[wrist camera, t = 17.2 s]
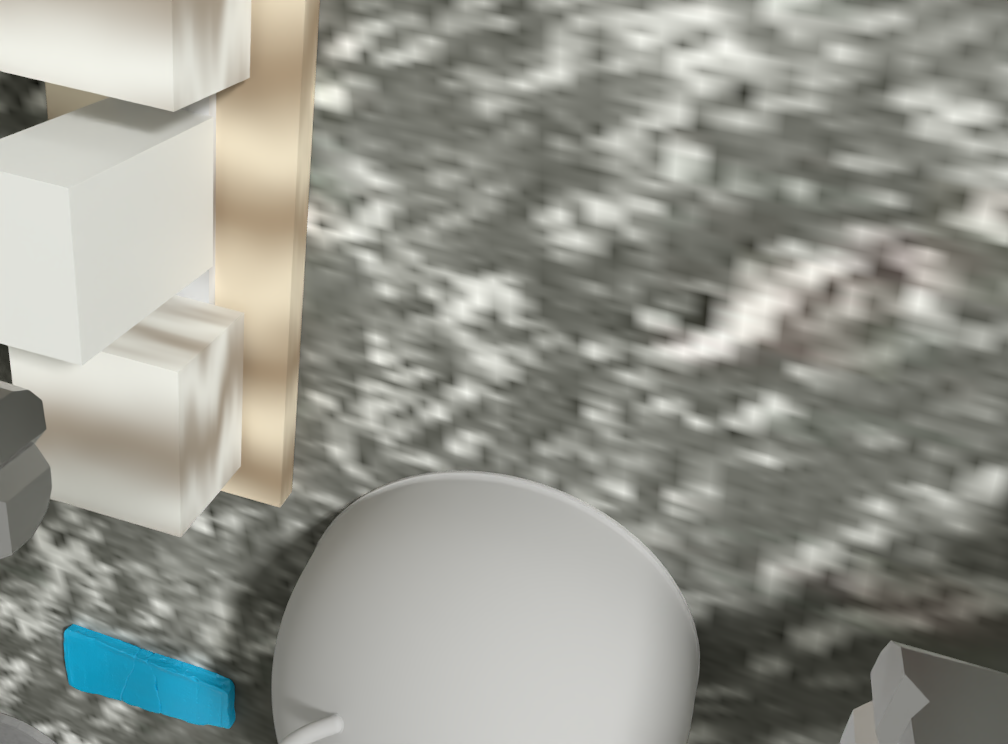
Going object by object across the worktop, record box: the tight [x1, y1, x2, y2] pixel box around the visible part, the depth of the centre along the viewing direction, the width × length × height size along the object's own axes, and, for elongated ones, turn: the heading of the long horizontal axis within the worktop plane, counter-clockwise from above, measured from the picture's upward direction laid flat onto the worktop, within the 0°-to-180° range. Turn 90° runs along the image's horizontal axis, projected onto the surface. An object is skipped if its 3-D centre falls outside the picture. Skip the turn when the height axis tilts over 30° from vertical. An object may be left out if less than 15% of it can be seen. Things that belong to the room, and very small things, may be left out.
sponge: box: [63, 624, 235, 729], centre depth 63 cm, size 2×12×6 cm
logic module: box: [0, 97, 213, 366], centre depth 39 cm, size 4×7×10 cm, turn 171°
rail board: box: [0, 0, 320, 537], centre depth 41 cm, size 34×12×8 cm, turn 171°
